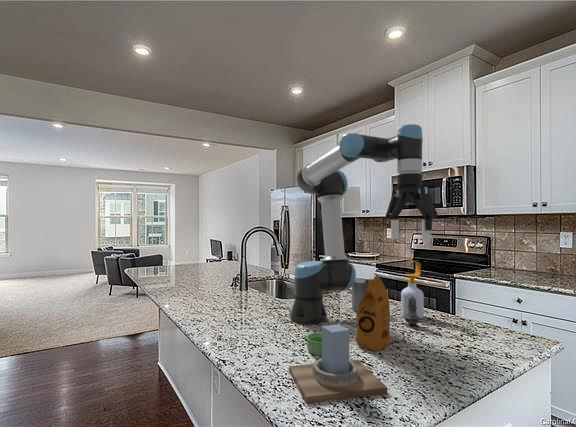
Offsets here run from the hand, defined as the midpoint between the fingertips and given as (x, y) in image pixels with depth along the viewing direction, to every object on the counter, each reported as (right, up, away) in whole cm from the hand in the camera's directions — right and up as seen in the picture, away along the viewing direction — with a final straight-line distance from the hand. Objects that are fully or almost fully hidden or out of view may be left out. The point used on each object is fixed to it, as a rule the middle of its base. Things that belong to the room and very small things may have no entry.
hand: (409, 240), depth 106 cm
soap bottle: (+15, -36, +37) cm, 53 cm away
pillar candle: (-5, -36, +45) cm, 58 cm away
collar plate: (-27, -34, -23) cm, 49 cm away
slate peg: (-27, -33, -22) cm, 48 cm away
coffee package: (-11, -35, +4) cm, 37 cm away
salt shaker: (+9, -36, +23) cm, 43 cm away
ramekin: (-29, -35, -2) cm, 45 cm away
